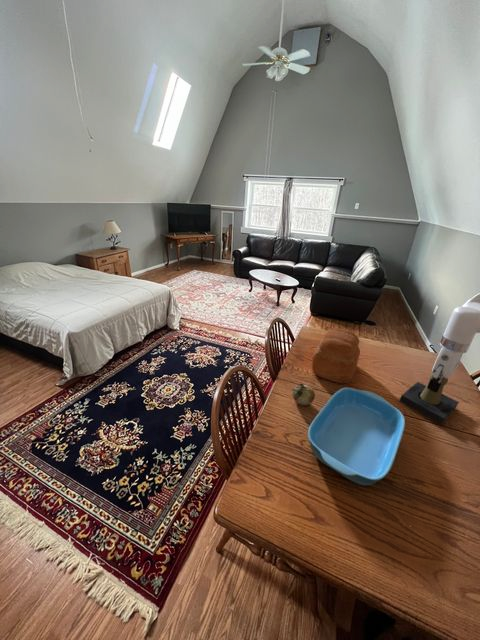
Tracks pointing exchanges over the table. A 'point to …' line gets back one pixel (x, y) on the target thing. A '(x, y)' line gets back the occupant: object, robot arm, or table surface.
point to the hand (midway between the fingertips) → (435, 386)
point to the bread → (336, 356)
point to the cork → (433, 396)
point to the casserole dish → (357, 435)
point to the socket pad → (430, 411)
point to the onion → (303, 394)
